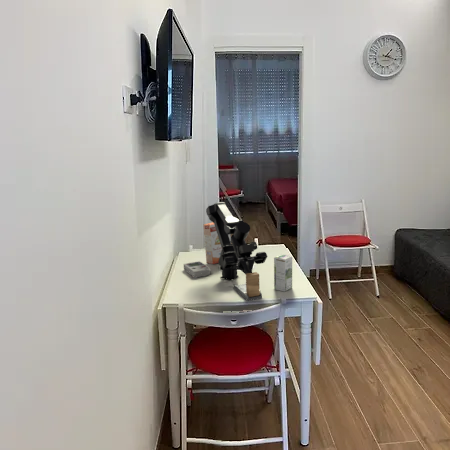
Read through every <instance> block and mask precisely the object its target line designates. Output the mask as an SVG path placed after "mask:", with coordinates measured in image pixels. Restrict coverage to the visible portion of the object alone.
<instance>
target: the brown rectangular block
mask: <svg viewBox="0 0 450 450" xmlns="http://www.w3.org/2000/svg"><path fill="white" fill-rule="evenodd" d="M245 284H246V292H247V295H248V296H249V297H252V296H258V295H260V291H261V290H260V274H259V273H258V272H257V271H255V272H253V271H252V273H247V274H245Z"/></svg>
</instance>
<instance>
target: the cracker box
mask: <svg viewBox="0 0 450 450" xmlns="http://www.w3.org/2000/svg"><path fill="white" fill-rule="evenodd" d="M224 224H225V223H224ZM228 236H229V239H230V242H231V236H232V234H229V235H228ZM203 237H204V245H205V246H204V249H205V258H206V264H211V265H215V264H219V262H218V260H219V258H220V253H221V250H222V247H221V244H220V241H219V237H218V234H217V231H216V228H215V225H214V223H213V222H212V221H211V222H209V223H204V224H203Z"/></svg>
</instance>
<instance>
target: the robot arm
mask: <svg viewBox="0 0 450 450" xmlns="http://www.w3.org/2000/svg"><path fill="white" fill-rule="evenodd" d="M205 211H206V212H205V214H206V216H208V219H209V221H210V222H211V223H212V222H213V223H214V225H215V228H216V231H217V234H218V237H219V241H220V244H221V247H222V250H221V253H220V258H219V260H218V262H219V263H218V266H220V267H221V275H222V276H220V277H219V278H220V279H221V280H227V281H233V280H235V279H237V278H239V275H238V270H240V271H241V272H242V273H243V274H244V275H246V274H247V273H253V267H254V264H257V265H259V264H264V263H265V262H266V260H267V259H268V254H267V252H266V251H259V252H256V254H255V255H253V252H254V251H255V250H257V249H258V244H257V242H256V241H251V242H250V243H247V242H246V239H247V237H248V236H249V233H250V230H251V225H250V224H248V223H247V222H245V221H244V220H243V219H239V218H237V217H235V216H233V213H232V212H231V211H230V210H229V208H228V207H227V204H226V202H224V201H220V202H219V201H218V202H215V203H213V204H211V205H208V206H207V207H206V210H205ZM224 223H225V224H224ZM229 234H231V242H230V239H229V236H228V235H229ZM252 255H253V256H252Z"/></svg>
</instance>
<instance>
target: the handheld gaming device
mask: <svg viewBox="0 0 450 450" xmlns="http://www.w3.org/2000/svg"><path fill="white" fill-rule="evenodd" d="M183 270H184V271H185V272H187V274H189V275H190V276H192V277H193V278H195V279H196V278H200V277H201V278H202V277H205V276H206V277H207V276H210V275H211V269H210V267H209V266H207V265H206V264H205V263H203V262H202V261H200V260H197V261H192V262H188V263H187V262H186V263H183Z"/></svg>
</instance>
